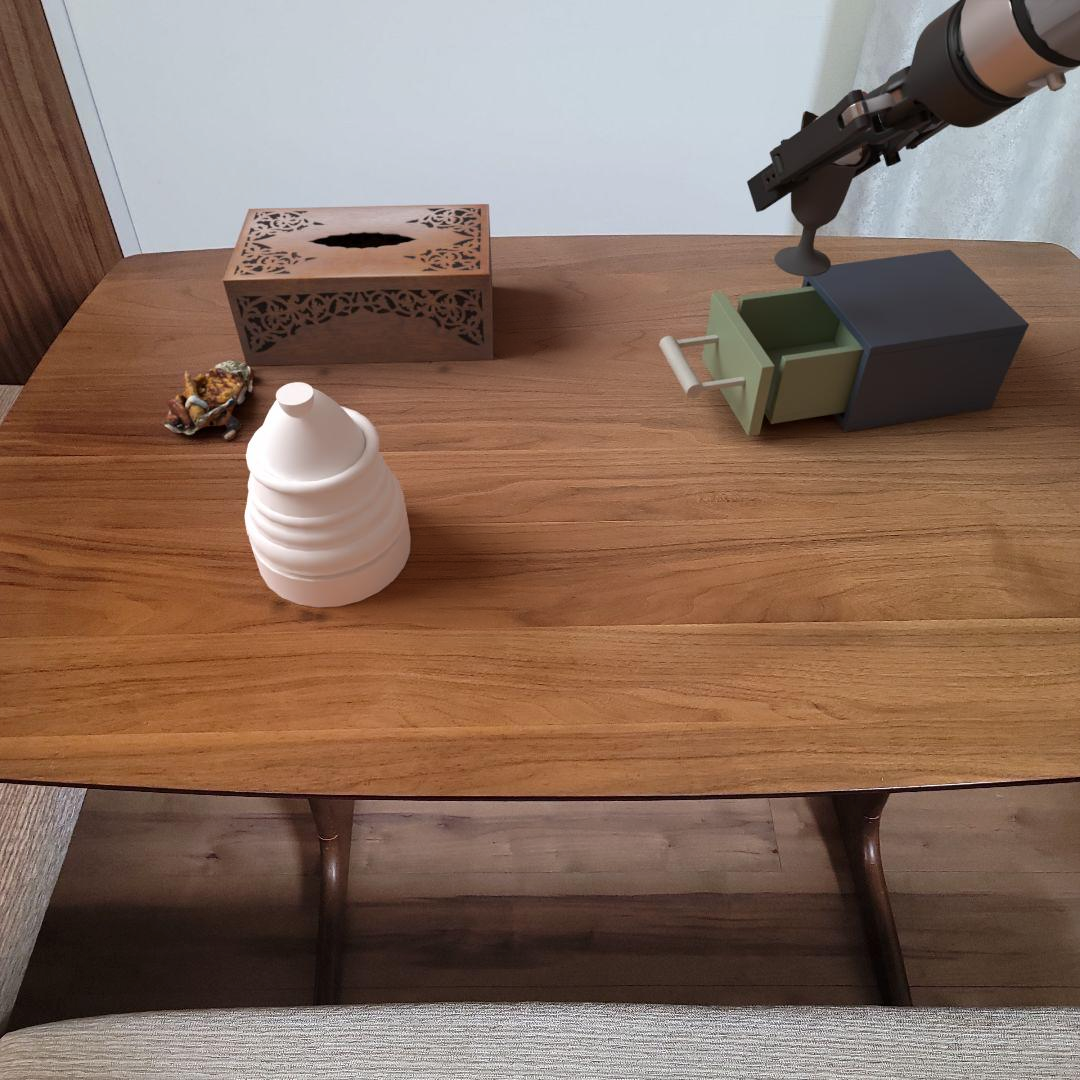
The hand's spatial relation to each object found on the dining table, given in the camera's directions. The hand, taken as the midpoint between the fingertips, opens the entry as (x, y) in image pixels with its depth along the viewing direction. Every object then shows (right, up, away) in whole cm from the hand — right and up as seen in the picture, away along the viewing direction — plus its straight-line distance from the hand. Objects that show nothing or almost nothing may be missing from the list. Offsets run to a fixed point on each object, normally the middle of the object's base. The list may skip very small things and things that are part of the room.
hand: (790, 186), depth 80 cm
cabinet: (+14, -14, +15) cm, 25 cm away
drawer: (+1, -16, +12) cm, 20 cm away
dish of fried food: (-54, -17, +12) cm, 58 cm away
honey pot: (-39, -32, -1) cm, 50 cm away
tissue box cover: (-40, -7, +22) cm, 46 cm away
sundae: (+2, -6, +2) cm, 7 cm away
